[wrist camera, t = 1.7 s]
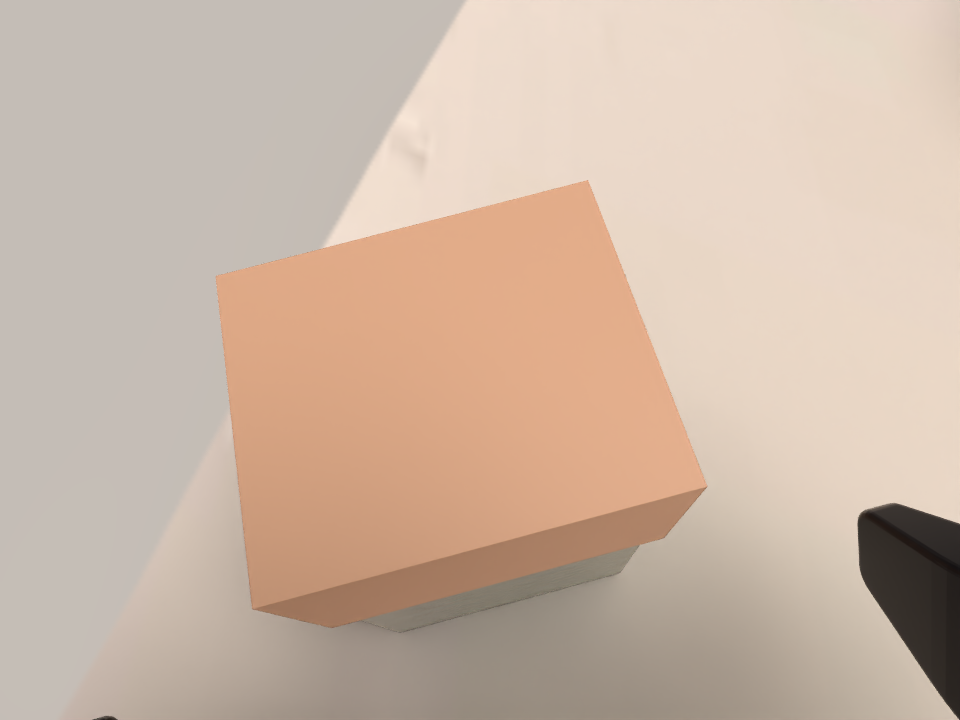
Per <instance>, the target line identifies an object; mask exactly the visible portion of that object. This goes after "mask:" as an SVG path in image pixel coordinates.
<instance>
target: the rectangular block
mask: <svg viewBox="0 0 960 720" xmlns="http://www.w3.org/2000/svg"><path fill="white" fill-rule="evenodd" d="M216 284H217V292H218V302H219V310H220V319H221V328H222V338H223V347H224V356H225V366H226V375H227V383H228V393H229V402H230V411H231V420H232V429H233V438H234V448H235V457H236V466H237V475H238V484H239V493H240V502H241V511H242V520H243V530H244V539H245V548H246V557H247V566H248V575H249V584H250V593H251V602H252V609H254V610H258V611H262V612H267V613H271V614H275V615H279V616H283V617H288V618H292V619H296V620H300V621H305V622H309V623H313V624H317V625H321V626H326V627H330V628H334V627H338V626H341V625H345V624H349V623H352V622H356V621H360V620H364V619H367V618H371V617H375V616H378V615H382V614H386V613H389V612H393V611H397V610H401V609H404V608H408V607H412V606H415V605H419V604H423V603H426V602H430V601H434V600H437V599H441V598H445V597H449V596H452V595H456V594H460V593H463V592H467V591H471V590H474V589H478V588H482V587H485V586H489V585H493V584H497V583H500V582H504V581H508V580H511V579H515V578H519V577H522V576H526V575H530V574H533V573H537V572H541V571H545V570H548V569H552V568H556V567H559V566H563V565H567V564H570V563H574V562H578V561H582V560H585V559H589V558H593V557H596V556H600V555H604V554H607V553H611V552H615V551H618V550H622V549H626V548H630V547H633V546H637V545H641V544H644V543H648V542H652V541H655V540H659V539H663V538H664V537H665V536H666V535H667V534H668V533H669V531H670V530H671V529H672V528H673V527H674V525H675V524H676V523H677V522H678V521H679V520H680V518H681V517H682V516H683V515H684V514H685V512H686V511H687V510H688V509H689V508H690V506H691V505H692V504H693V503H694V502H695V501H696V499H697V498H698V497H699V496H700V495H701V493H702V492H703V491H704V490H705V489H706V487H707V485H706V482H705V479H704V477H703V474H702V472H701V469H700V467H699V464H698V462H697V459H696V456H695V454H694V451H693V449H692V446H691V444H690V441H689V438H688V436H687V433H686V431H685V428H684V426H683V423H682V420H681V418H680V415H679V413H678V410H677V408H676V405H675V402H674V400H673V397H672V395H671V392H670V390H669V387H668V384H667V382H666V379H665V377H664V374H663V372H662V369H661V366H660V364H659V361H658V359H657V356H656V354H655V351H654V348H653V346H652V343H651V341H650V338H649V336H648V333H647V331H646V328H645V325H644V323H643V320H642V318H641V315H640V313H639V310H638V307H637V305H636V302H635V300H634V297H633V295H632V292H631V289H630V287H629V284H628V282H627V279H626V277H625V274H624V271H623V269H622V266H621V264H620V261H619V259H618V256H617V253H616V251H615V248H614V246H613V243H612V241H611V238H610V235H609V233H608V230H607V228H606V225H605V223H604V220H603V218H602V215H601V212H600V210H599V207H598V205H597V202H596V200H595V197H594V194H593V192H592V189H591V187H590V184H589V182H588V180H587V181H583V182H579V183H575V184H572V185H568V186H564V187H560V188H556V189H552V190H548V191H544V192H540V193H537V194H533V195H529V196H525V197H521V198H517V199H513V200H509V201H506V202H502V203H498V204H494V205H490V206H486V207H482V208H478V209H474V210H471V211H467V212H463V213H459V214H455V215H451V216H447V217H443V218H439V219H436V220H432V221H428V222H424V223H420V224H416V225H412V226H408V227H405V228H401V229H397V230H393V231H389V232H385V233H381V234H377V235H373V236H370V237H366V238H362V239H358V240H354V241H350V242H346V243H342V244H338V245H335V246H331V247H327V248H323V249H319V250H315V251H311V252H307V253H304V254H300V255H296V256H292V257H288V258H285V259H280V260H276V261H272V262H269V263H265V264H261V265H257V266H253V267H249V268H245V269H242V270H238V271H234V272H230V273H226V274H222V275H218V276H216Z"/></svg>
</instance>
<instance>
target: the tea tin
mask: <svg viewBox="0 0 960 720" xmlns="http://www.w3.org/2000/svg"><path fill="white" fill-rule="evenodd" d="M638 547H639V545H637V546H633V547H630V548H626V549H622V550H618V551H615V552H611V553H607V554H604V555H600V556H596V557H593V558H589V559H585V560H582V561H578V562H574V563H570V564H567V565H563V566H559V567H556V568H552V569H548V570H545V571H541V572H537V573H533V574H530V575H526V576H522V577H519V578H515V579H511V580H508V581H504V582H500V583H497V584H493V585H489V586H485V587H482V588H478V589H474V590H471V591H467V592H463V593H460V594H456V595H452V596H449V597H445V598H441V599H437V600H434V601H430V602H426V603H423V604H419V605H415V606H412V607H408V608H404V609H401V610H397V611H393V612H389V613H386V614H382V615H378V616H375V617H371V618H367V619H364V620H361V621H364V622H367V623H371V624H374V625H377V626H380V627H383V628H387V629H390V630H393V631H396V632H399V633H401V632H404V631H408V630H412V629H415V628H419V627H423V626H427V625H430V624H434V623H438V622H441V621H445V620H449V619H452V618H456V617H460V616H463V615H467V614H471V613H474V612H478V611H482V610H485V609H489V608H493V607H496V606H500V605H504V604H508V603H511V602H515V601H519V600H522V599H526V598H530V597H533V596H537V595H541V594H544V593H548V592H552V591H555V590H559V589H563V588H566V587H570V586H574V585H578V584H581V583H585V582H589V581H592V580H596V579H600V578H603V577H607V576H611V575H614V574H618V573H620V572H621V571H622V569H623V568H624V567H625V565H626V564H627V562H628V561H629V559H630V558H631V557H632V555H633V554H634V552H635V551H636V550H637V548H638Z"/></svg>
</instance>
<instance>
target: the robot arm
mask: <svg viewBox="0 0 960 720" xmlns="http://www.w3.org/2000/svg"><path fill="white" fill-rule="evenodd" d="M858 546H859V566H860V571H861V575H862V578H863V580H864V582H865V584H866V586H867V588H868V589H869V591H870V592H871V594H872V595H873V597H874V598H875V600H876V601H877V603H878V604H879V606H880V607H881V609H882V610H883V612H884V613H885V615H886V616H887V618H888V619H889V620H890V622H891V623H892V625H893V626H894V628H895V629H896V631H897V632H898V634H899V635H900V637H901V638H902V640H903V641H904V643H905V644H906V646H907V647H908V649H909V650H910V652H911V653H912V655H913V656H914V658H915V659H916V661H917V662H918V663H919V665H920V666H921V668H922V669H923V671H924V672H925V674H926V675H927V677H928V678H929V680H930V681H931V683H932V684H933V686H934V687H935V688H936V690H937V691H938V693H939V694H940V695H941V697H942V698H943V700H944V701H945V702H946V704H947V705H948V706H949V707H950V709H951V710H952V711H953V712H954V714H955V715H956V716H957V718H958V719H959V720H960V524H959V523H956V522H953V521H950V520H947V519H944V518H941V517H937V516H934V515H931V514H928V513H925V512H922V511H919V510H916V509H913V508H910V507H907V506H904V505H900V504H896V503H890V504H886V505H882V506H878V507H874V508H871V509H867V510H864V511H863V512H862V513H860V515H859V517H858ZM93 720H117V719H116V718H114V717H112V716H104V717H101V718H97V719H93Z"/></svg>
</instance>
